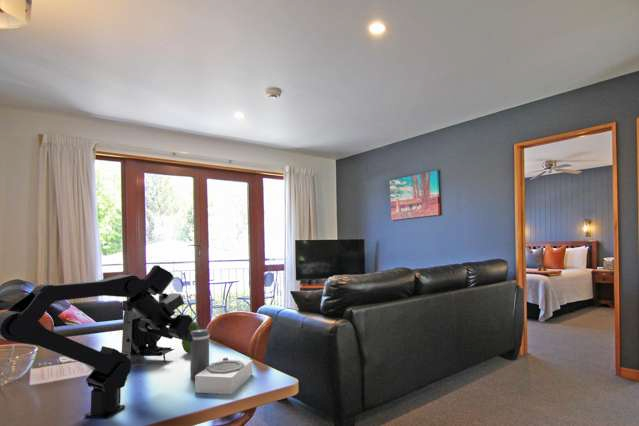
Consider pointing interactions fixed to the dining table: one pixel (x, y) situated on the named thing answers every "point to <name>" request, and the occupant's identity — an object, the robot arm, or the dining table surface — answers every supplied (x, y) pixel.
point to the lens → (199, 352)
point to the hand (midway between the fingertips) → (181, 339)
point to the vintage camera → (139, 339)
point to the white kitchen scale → (223, 376)
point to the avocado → (186, 344)
